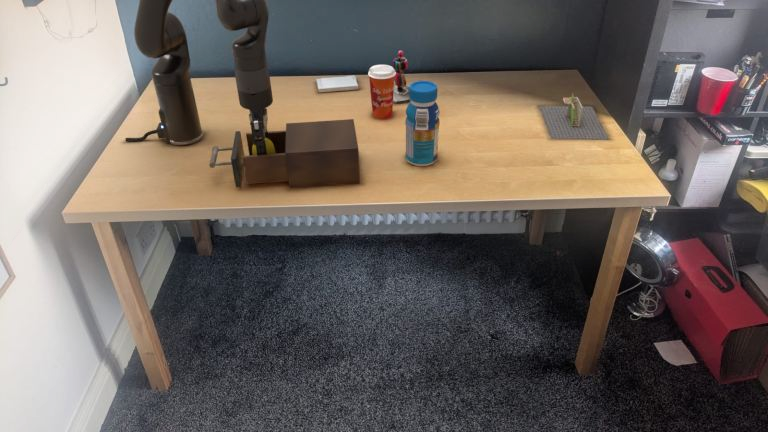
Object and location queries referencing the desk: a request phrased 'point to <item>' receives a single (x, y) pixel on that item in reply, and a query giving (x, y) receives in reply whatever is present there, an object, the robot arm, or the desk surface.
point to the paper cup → (382, 90)
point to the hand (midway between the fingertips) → (263, 147)
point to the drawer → (256, 160)
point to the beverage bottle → (422, 124)
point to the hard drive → (337, 84)
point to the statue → (400, 80)
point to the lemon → (269, 147)
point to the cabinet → (322, 153)
